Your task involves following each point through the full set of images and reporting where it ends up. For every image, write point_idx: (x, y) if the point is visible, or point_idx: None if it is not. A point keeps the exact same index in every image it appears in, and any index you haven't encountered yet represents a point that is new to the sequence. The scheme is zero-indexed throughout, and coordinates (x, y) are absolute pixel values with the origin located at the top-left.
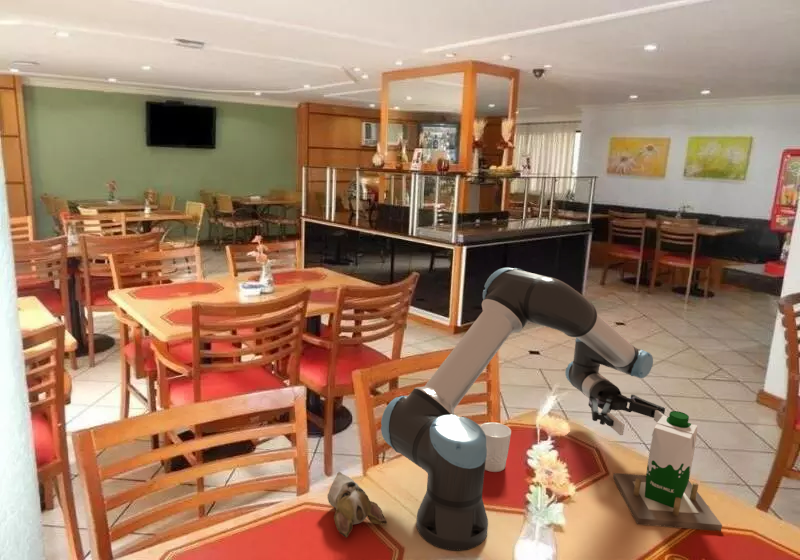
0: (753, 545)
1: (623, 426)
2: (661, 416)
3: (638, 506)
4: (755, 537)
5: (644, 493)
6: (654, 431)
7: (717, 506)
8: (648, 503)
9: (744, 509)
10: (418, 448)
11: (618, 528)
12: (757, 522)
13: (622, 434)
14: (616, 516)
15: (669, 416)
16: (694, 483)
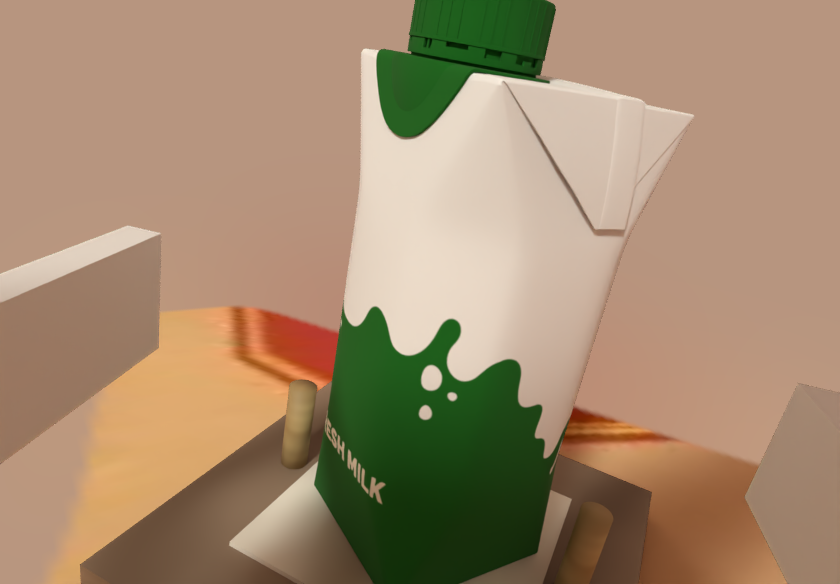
0: (316, 342)
1: (801, 404)
2: (13, 322)
3: (608, 533)
4: (269, 347)
5: (512, 575)
6: (677, 146)
7: (187, 441)
8: (548, 518)
9: (108, 394)
10: None
11: (736, 532)
12: (168, 360)
13: (756, 493)
14: (721, 580)
15: (544, 30)
16: (302, 390)
